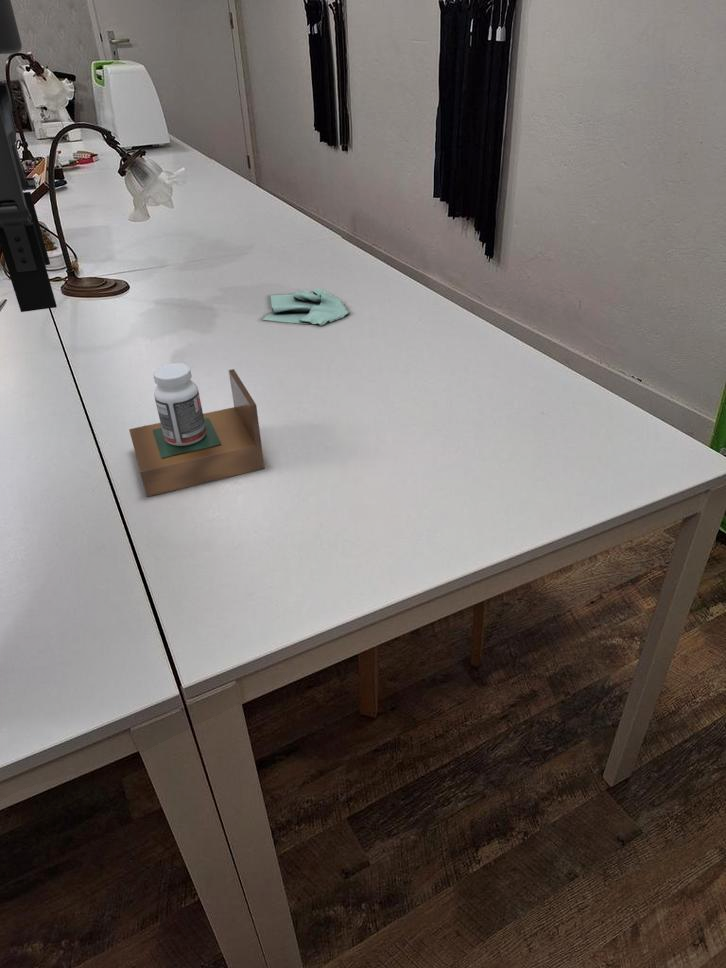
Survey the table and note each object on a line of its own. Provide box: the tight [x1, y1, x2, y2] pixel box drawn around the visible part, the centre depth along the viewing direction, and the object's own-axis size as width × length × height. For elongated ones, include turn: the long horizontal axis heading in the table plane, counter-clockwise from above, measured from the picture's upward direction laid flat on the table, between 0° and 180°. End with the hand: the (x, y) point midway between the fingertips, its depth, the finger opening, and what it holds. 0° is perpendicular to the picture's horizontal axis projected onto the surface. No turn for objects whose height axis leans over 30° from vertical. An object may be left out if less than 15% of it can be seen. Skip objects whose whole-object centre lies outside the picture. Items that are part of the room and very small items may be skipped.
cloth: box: [262, 287, 350, 327], centre depth 142 cm, size 20×22×2 cm
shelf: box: [128, 368, 265, 498], centre depth 90 cm, size 16×12×10 cm
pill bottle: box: [152, 362, 206, 446], centre depth 87 cm, size 6×6×10 cm
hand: (37, 285), depth 59 cm, fingers open, 13 cm apart
